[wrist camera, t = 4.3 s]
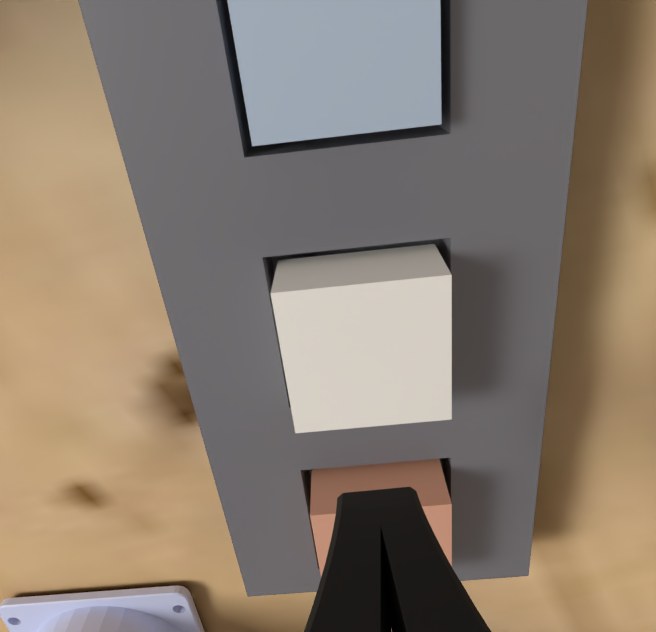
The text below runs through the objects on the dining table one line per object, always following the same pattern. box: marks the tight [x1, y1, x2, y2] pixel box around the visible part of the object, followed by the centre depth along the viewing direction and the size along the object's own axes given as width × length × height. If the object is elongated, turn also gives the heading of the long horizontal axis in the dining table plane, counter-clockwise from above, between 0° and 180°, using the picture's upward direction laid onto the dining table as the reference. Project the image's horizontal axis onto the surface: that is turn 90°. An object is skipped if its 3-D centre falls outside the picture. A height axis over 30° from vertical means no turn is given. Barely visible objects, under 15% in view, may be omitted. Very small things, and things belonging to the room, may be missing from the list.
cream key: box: [271, 244, 452, 433], centre depth 13 cm, size 4×4×2 cm
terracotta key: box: [310, 459, 452, 576], centre depth 16 cm, size 4×4×2 cm
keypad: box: [78, 0, 588, 596], centre depth 15 cm, size 21×10×2 cm, turn 6°
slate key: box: [227, 0, 442, 146], centre depth 11 cm, size 4×4×2 cm
